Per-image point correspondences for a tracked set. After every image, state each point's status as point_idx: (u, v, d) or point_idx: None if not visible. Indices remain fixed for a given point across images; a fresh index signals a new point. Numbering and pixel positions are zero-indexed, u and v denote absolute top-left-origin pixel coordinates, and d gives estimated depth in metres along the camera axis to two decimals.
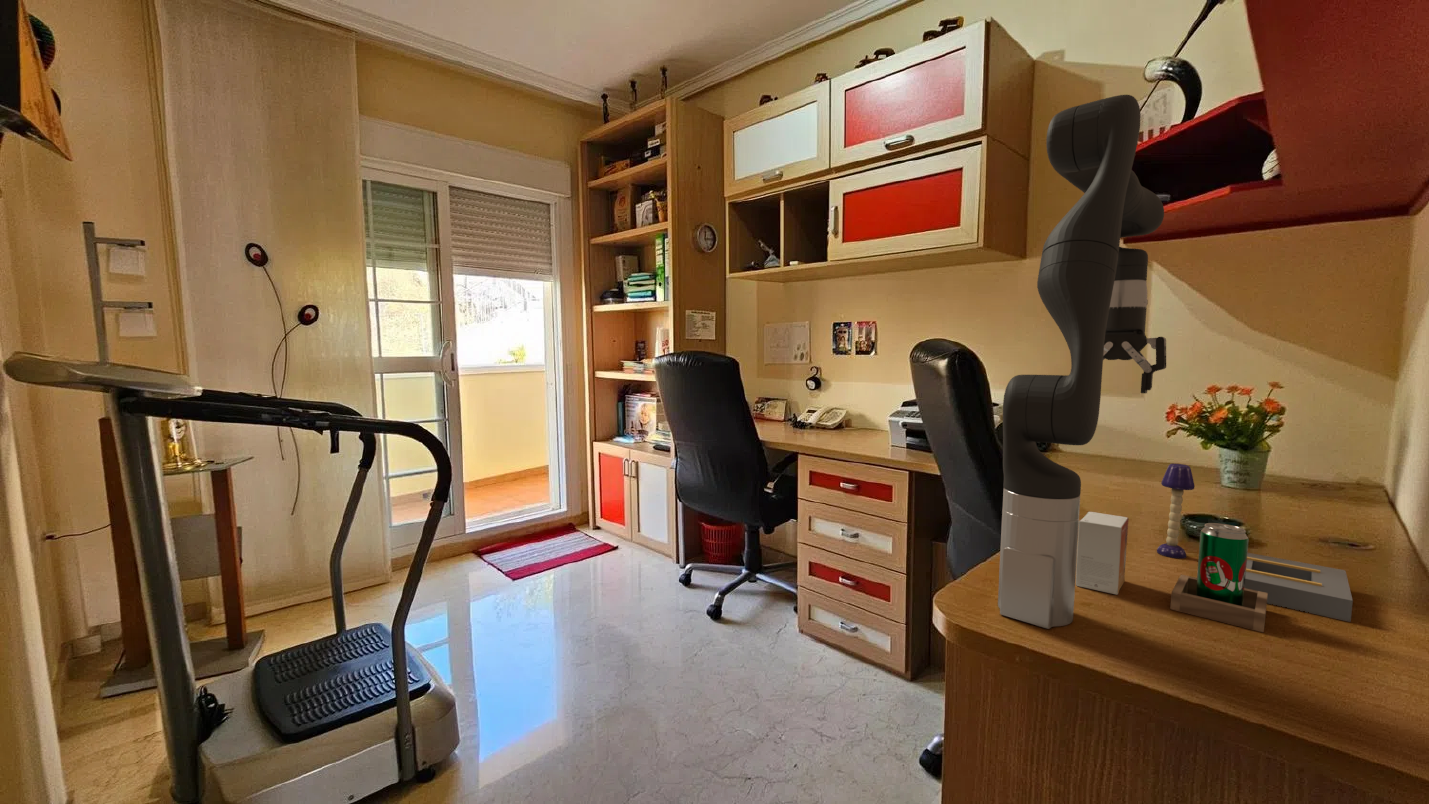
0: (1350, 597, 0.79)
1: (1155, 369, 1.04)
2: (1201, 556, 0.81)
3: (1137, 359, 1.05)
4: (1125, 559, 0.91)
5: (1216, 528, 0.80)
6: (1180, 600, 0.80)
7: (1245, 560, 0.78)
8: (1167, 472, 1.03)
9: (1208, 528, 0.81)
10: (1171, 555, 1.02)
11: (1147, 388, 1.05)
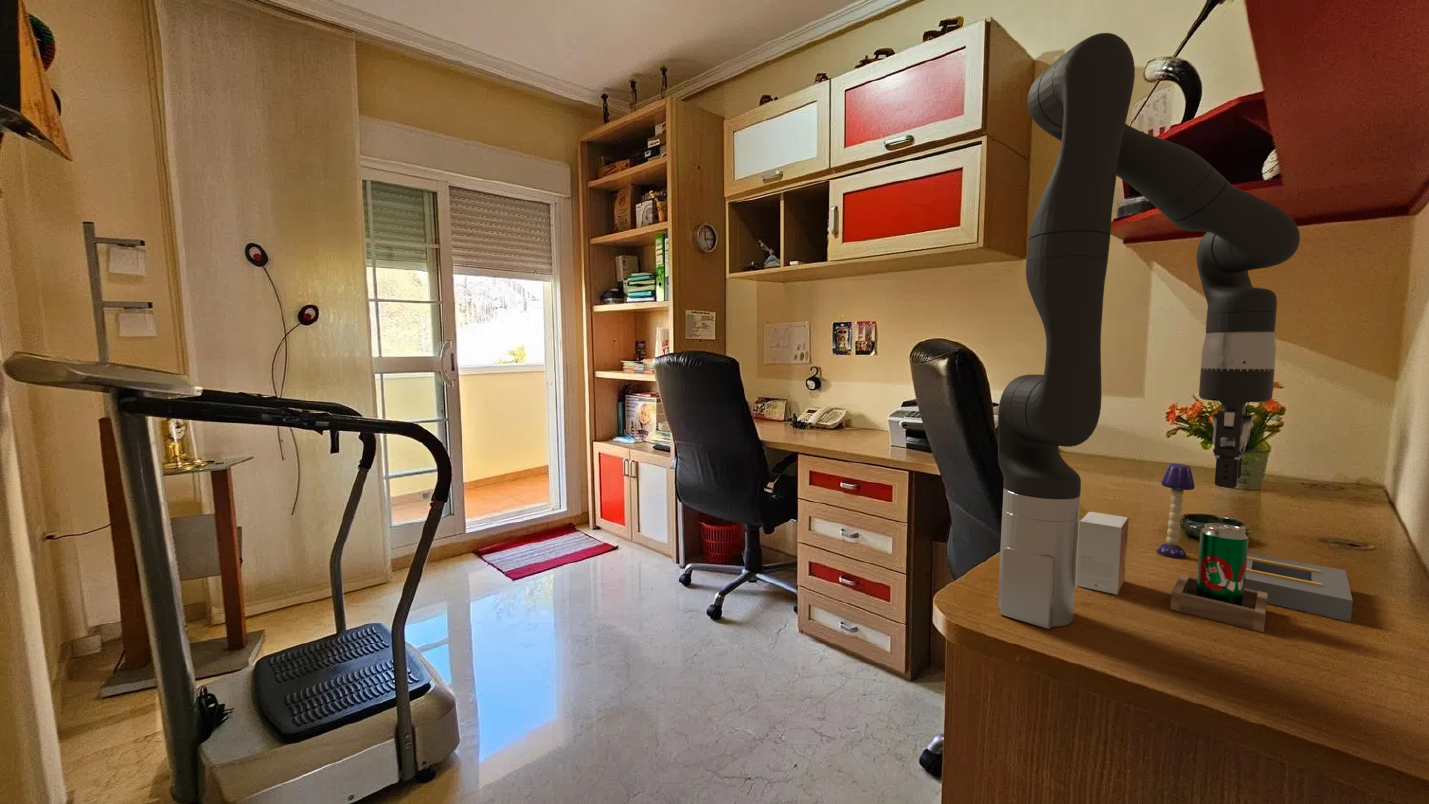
0: (1350, 597, 0.79)
1: None
2: (1201, 556, 0.81)
3: None
4: (1125, 559, 0.91)
5: (1216, 528, 0.80)
6: (1180, 600, 0.80)
7: (1245, 560, 0.78)
8: (1167, 472, 1.03)
9: (1208, 528, 0.81)
10: (1171, 555, 1.02)
11: None
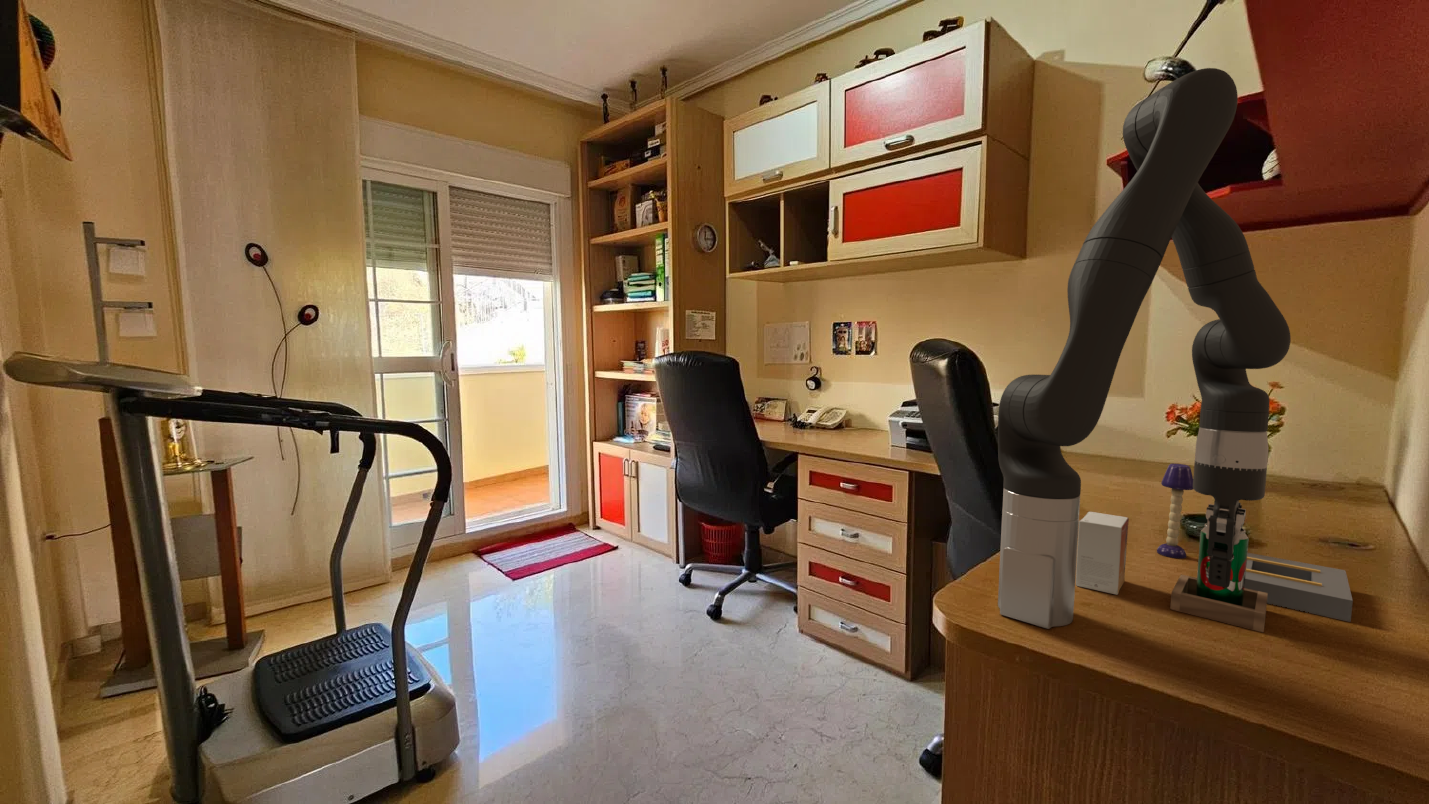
0: (1350, 597, 0.79)
1: None
2: (1201, 556, 0.81)
3: None
4: (1125, 559, 0.91)
5: None
6: (1180, 600, 0.80)
7: (1245, 560, 0.78)
8: (1167, 472, 1.03)
9: None
10: (1171, 555, 1.02)
11: None
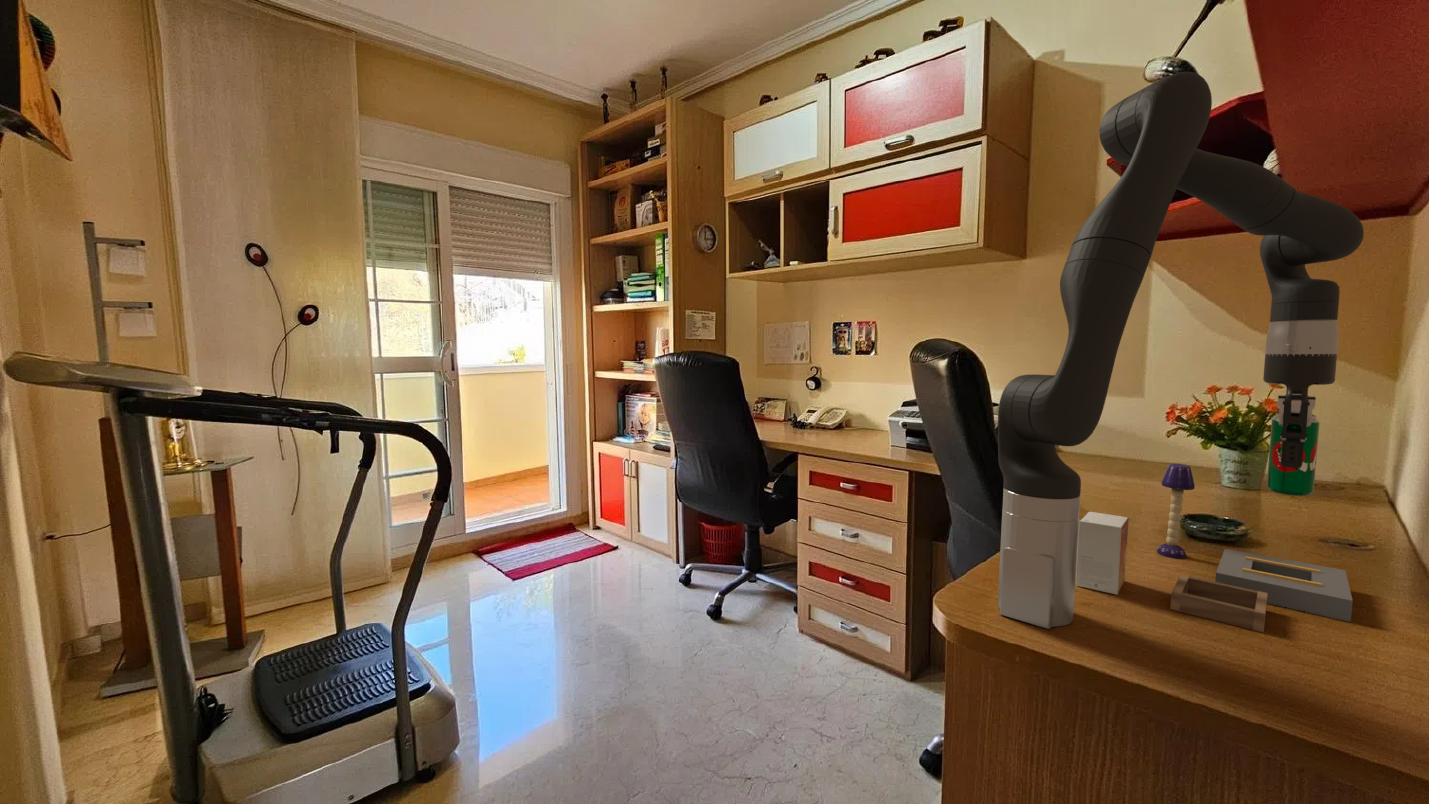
0: (1350, 597, 0.79)
1: None
2: (1272, 443, 0.87)
3: None
4: (1125, 559, 0.91)
5: None
6: (1180, 600, 0.80)
7: (1316, 442, 0.84)
8: (1167, 472, 1.03)
9: None
10: (1171, 555, 1.02)
11: None
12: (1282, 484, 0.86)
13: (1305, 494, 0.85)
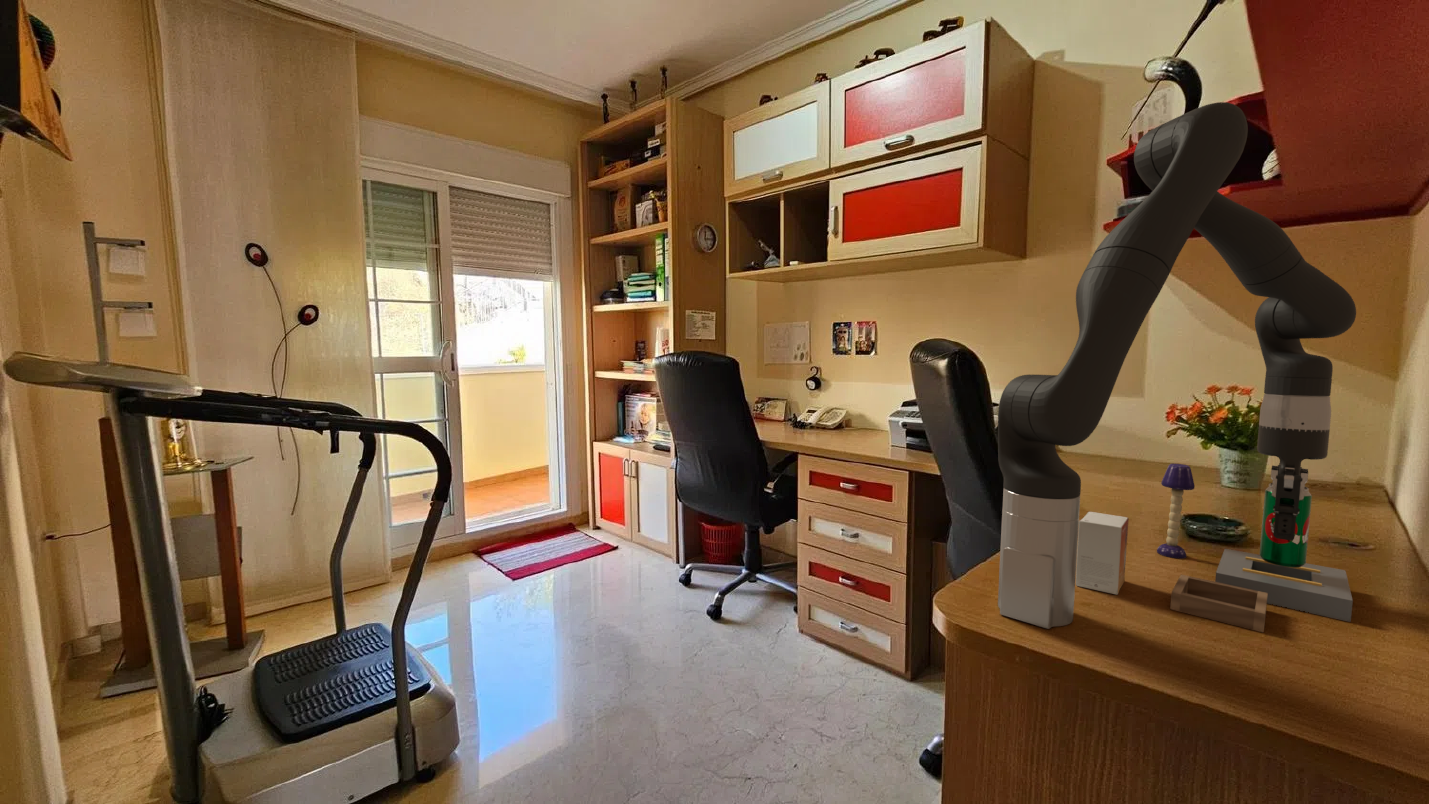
0: (1350, 597, 0.79)
1: None
2: (1266, 513, 0.88)
3: None
4: (1125, 559, 0.91)
5: None
6: (1180, 600, 0.80)
7: (1309, 515, 0.85)
8: (1167, 472, 1.03)
9: None
10: (1171, 555, 1.02)
11: None
12: (1275, 555, 0.87)
13: (1297, 566, 0.86)
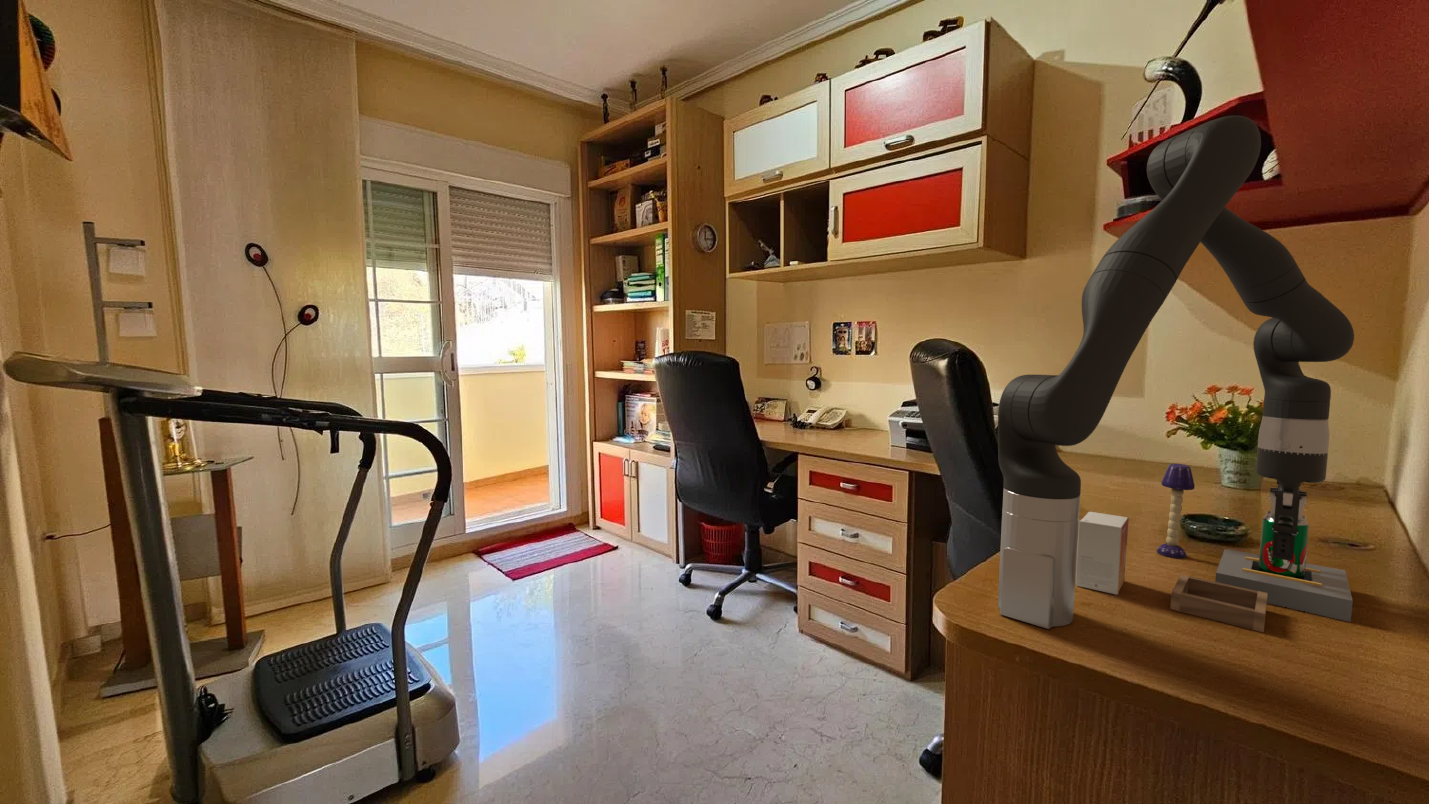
0: (1350, 597, 0.79)
1: None
2: (1263, 541, 0.88)
3: None
4: (1125, 559, 0.91)
5: None
6: (1180, 600, 0.80)
7: (1306, 544, 0.85)
8: (1167, 472, 1.03)
9: None
10: (1171, 555, 1.02)
11: None
12: None
13: None
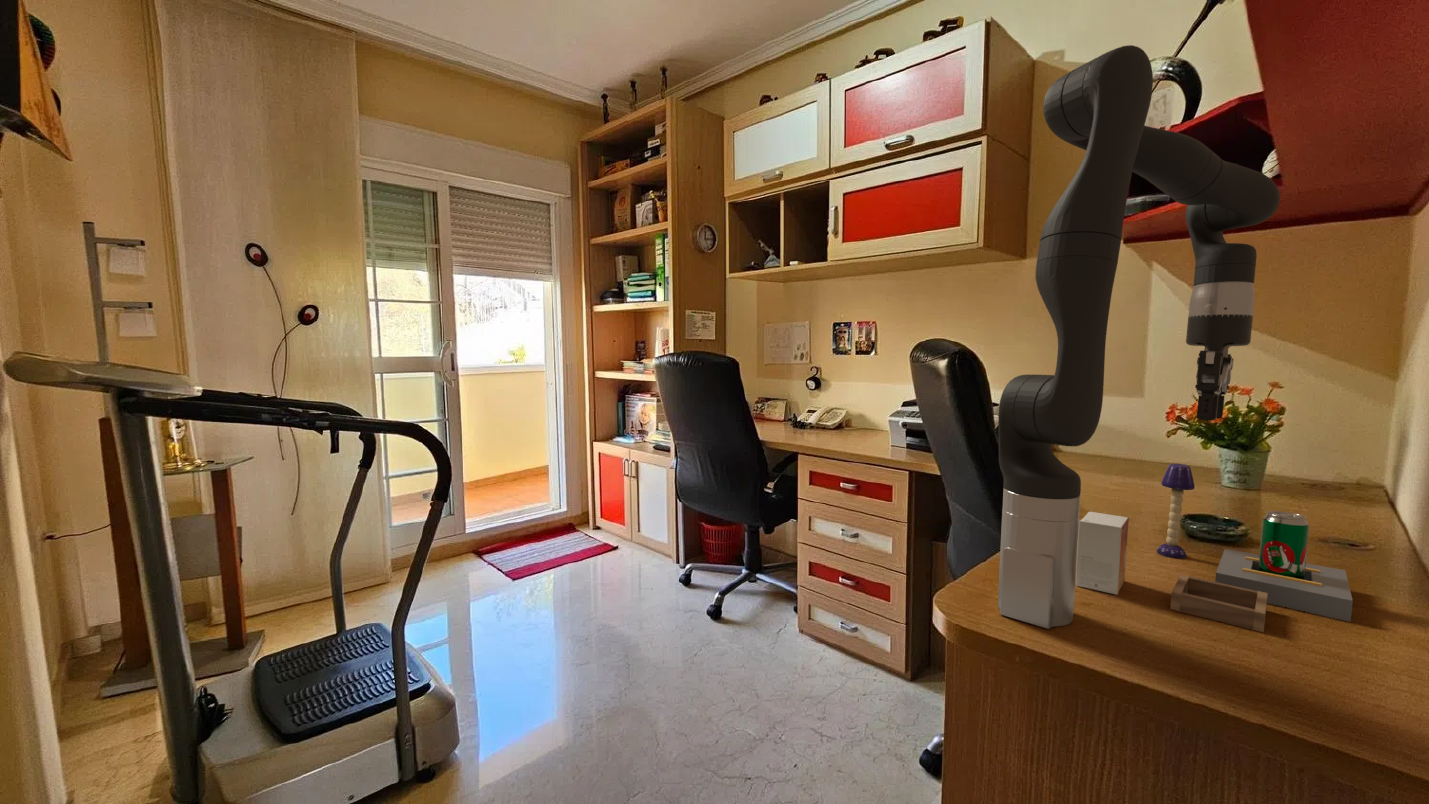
0: (1350, 597, 0.79)
1: None
2: (1263, 541, 0.88)
3: (1230, 379, 0.90)
4: (1125, 559, 0.91)
5: (1278, 515, 0.87)
6: (1180, 600, 0.80)
7: (1306, 544, 0.85)
8: (1167, 472, 1.03)
9: (1271, 515, 0.87)
10: (1171, 555, 1.02)
11: None
12: None
13: None
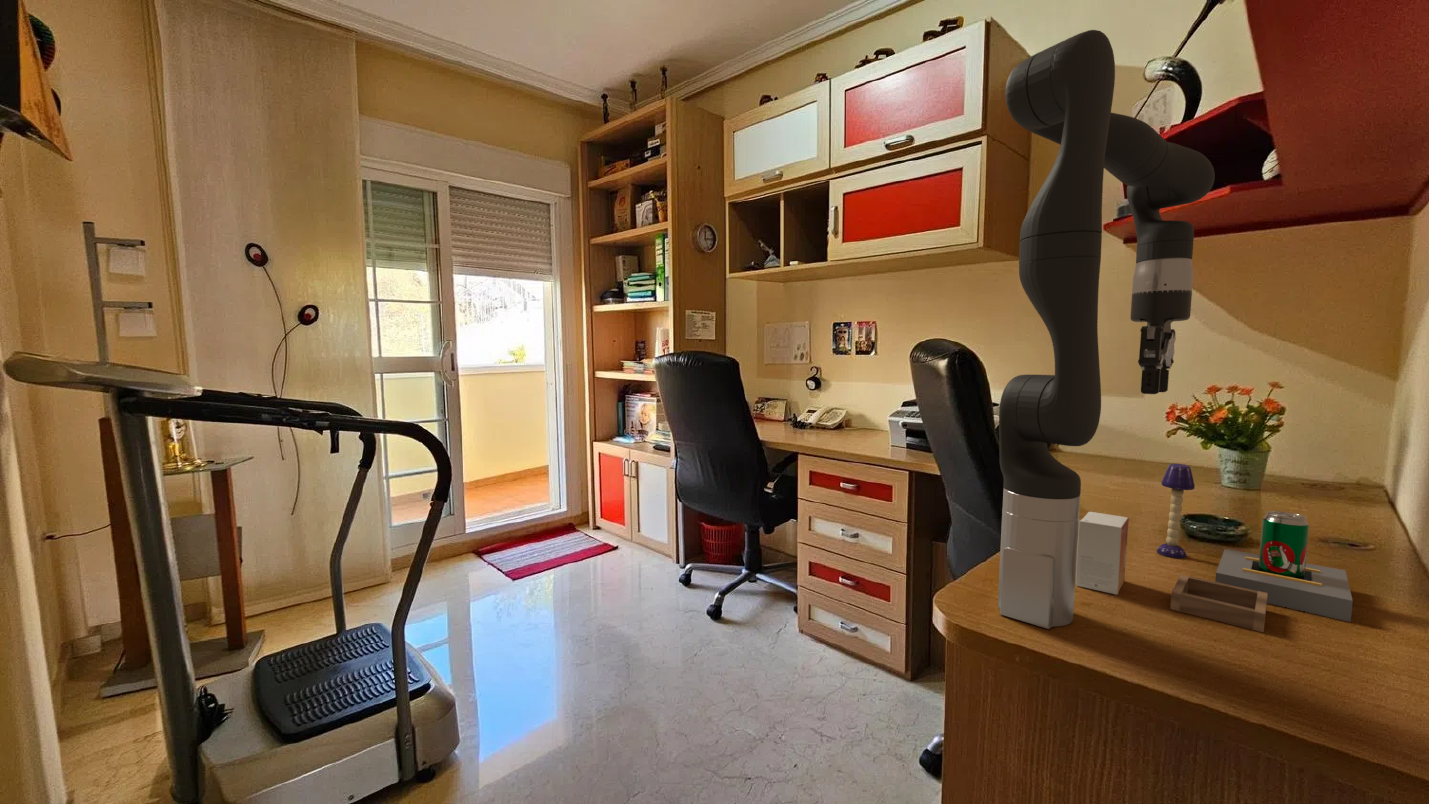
0: (1350, 597, 0.79)
1: None
2: (1263, 541, 0.88)
3: (1173, 353, 0.92)
4: (1125, 559, 0.91)
5: (1278, 515, 0.87)
6: (1180, 600, 0.80)
7: (1306, 544, 0.85)
8: (1167, 472, 1.03)
9: (1270, 515, 0.87)
10: (1171, 555, 1.02)
11: None
12: None
13: None
